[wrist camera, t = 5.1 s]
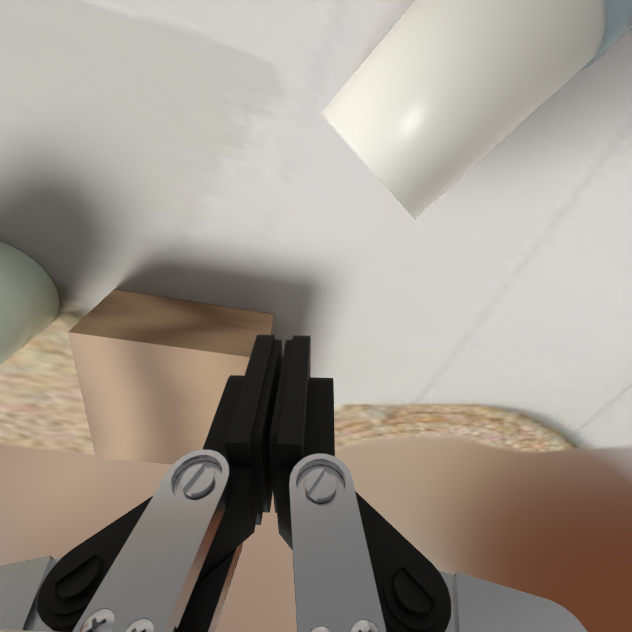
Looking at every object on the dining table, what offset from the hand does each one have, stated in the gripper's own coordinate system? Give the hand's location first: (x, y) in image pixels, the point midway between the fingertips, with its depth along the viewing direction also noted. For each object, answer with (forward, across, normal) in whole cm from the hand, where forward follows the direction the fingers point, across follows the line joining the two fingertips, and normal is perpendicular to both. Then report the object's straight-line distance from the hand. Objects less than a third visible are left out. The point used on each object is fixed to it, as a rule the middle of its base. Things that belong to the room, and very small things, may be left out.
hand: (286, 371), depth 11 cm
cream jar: (+8, -3, -5) cm, 10 cm away
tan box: (+10, +8, +8) cm, 16 cm away
